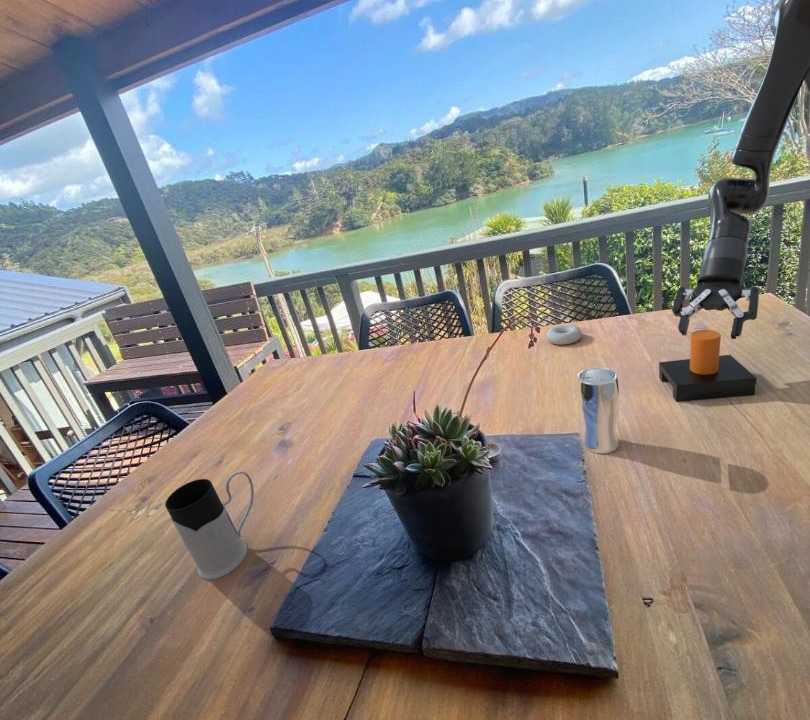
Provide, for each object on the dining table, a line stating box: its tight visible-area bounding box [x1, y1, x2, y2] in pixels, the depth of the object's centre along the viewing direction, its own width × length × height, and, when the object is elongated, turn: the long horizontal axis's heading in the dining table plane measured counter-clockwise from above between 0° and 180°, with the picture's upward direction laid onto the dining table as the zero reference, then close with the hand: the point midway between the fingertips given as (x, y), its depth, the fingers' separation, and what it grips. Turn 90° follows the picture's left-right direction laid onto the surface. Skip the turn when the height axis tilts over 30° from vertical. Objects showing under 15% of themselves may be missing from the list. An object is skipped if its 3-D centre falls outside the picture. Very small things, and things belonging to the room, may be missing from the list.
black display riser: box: [658, 354, 758, 403], centre depth 92 cm, size 14×11×4 cm
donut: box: [545, 324, 582, 346], centre depth 129 cm, size 10×4×10 cm
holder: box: [164, 470, 255, 581], centre depth 77 cm, size 9×14×15 cm, turn 134°
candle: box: [689, 329, 722, 375], centre depth 90 cm, size 5×5×8 cm
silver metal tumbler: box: [577, 366, 621, 455], centre depth 81 cm, size 7×7×15 cm
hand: (707, 335), depth 89 cm, fingers open, 8 cm apart
